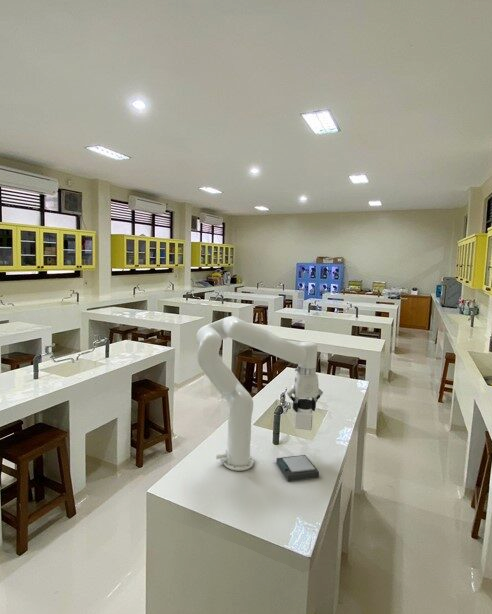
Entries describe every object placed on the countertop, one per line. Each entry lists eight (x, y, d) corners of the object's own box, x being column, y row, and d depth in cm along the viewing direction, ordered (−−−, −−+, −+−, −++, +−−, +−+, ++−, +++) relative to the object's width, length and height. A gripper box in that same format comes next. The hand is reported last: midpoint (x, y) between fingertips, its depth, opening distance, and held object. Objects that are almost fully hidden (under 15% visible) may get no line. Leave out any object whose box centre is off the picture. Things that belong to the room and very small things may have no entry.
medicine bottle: (311, 430, 159) (313, 403, 158) (294, 428, 161) (296, 401, 159) (311, 423, 166) (313, 397, 165) (294, 421, 167) (296, 395, 166)
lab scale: (287, 481, 145) (288, 474, 145) (276, 463, 158) (276, 456, 157) (318, 477, 148) (319, 470, 148) (305, 460, 161) (305, 453, 160)
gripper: (291, 374, 154) (288, 415, 157) (329, 372, 159) (326, 412, 161) (284, 368, 161) (281, 408, 164) (321, 367, 166) (318, 405, 168)
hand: (304, 410), depth 162 cm, fingers closed on medicine bottle, 7 cm apart
